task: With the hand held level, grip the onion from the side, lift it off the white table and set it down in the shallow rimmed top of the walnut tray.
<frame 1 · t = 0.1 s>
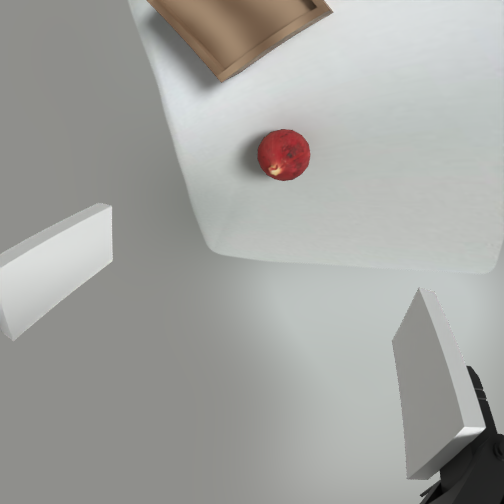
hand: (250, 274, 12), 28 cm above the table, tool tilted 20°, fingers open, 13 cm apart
onion: (290, 142, 37), on the table
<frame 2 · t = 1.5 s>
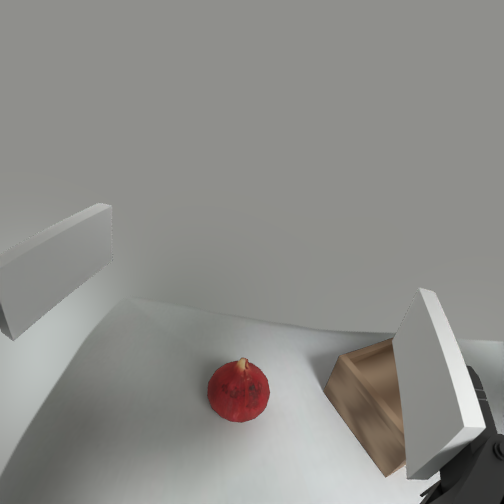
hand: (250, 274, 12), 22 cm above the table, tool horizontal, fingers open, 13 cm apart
walnut tray: (395, 411, 30), on the table
onion: (234, 413, 29), on the table
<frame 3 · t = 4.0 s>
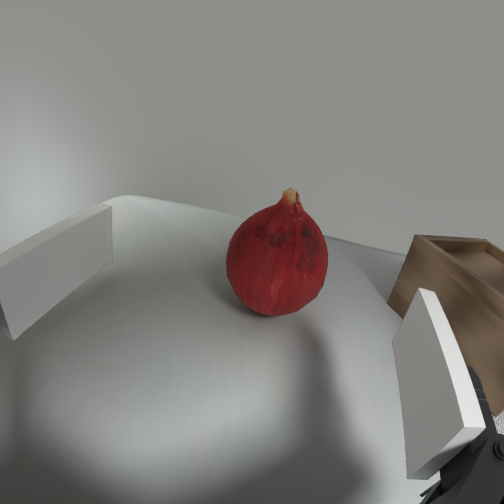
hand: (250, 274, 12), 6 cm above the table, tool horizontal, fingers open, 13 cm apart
walnut tray: (478, 337, 21), on the table
onion: (264, 315, 20), on the table
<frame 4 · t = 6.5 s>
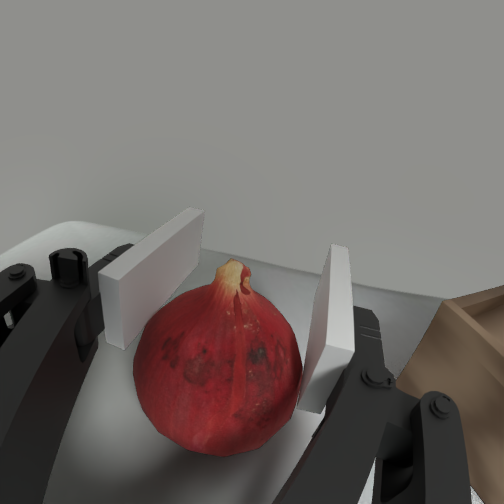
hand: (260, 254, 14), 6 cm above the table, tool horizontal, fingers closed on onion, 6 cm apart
onion: (207, 428, 12), on the table, touching gripper
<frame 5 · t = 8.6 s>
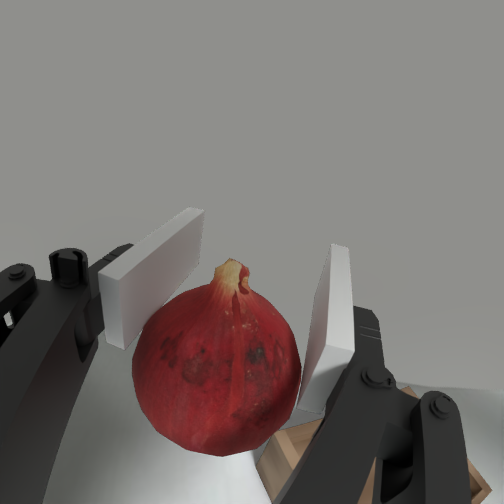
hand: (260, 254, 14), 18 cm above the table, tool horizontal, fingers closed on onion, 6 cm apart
walnut tray: (359, 503, 18), on the table
onion: (206, 428, 12), point 11 cm above the table, touching gripper
when the fingers open (13 cm above the table, at t = 10.8 s): onion drops 2 cm, resting on walnut tray.
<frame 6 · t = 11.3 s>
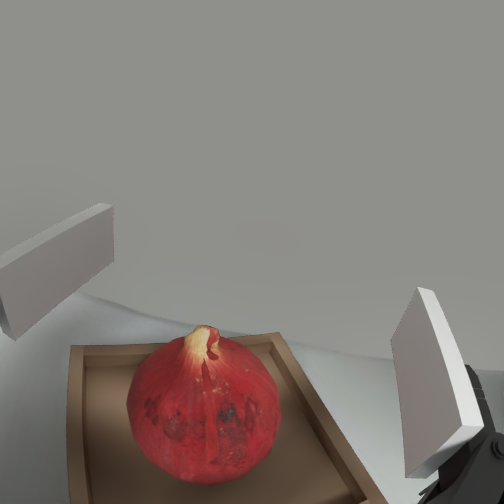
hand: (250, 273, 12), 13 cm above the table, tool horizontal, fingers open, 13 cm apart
walnut tray: (200, 479, 15), on the table
onion: (205, 447, 13), point 5 cm above the table, touching walnut tray
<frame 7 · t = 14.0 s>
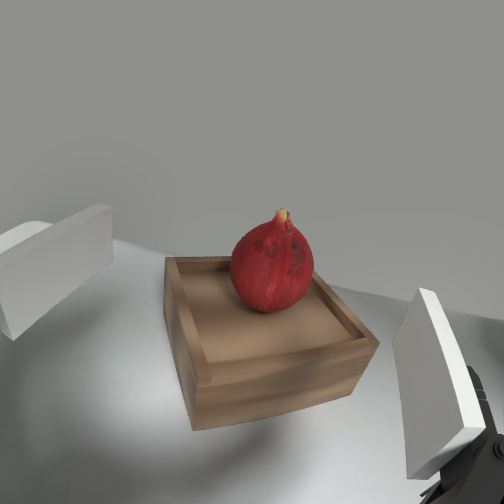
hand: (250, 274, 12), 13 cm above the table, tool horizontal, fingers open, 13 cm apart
walnut tray: (250, 354, 26), on the table
onion: (261, 312, 24), point 5 cm above the table, touching walnut tray
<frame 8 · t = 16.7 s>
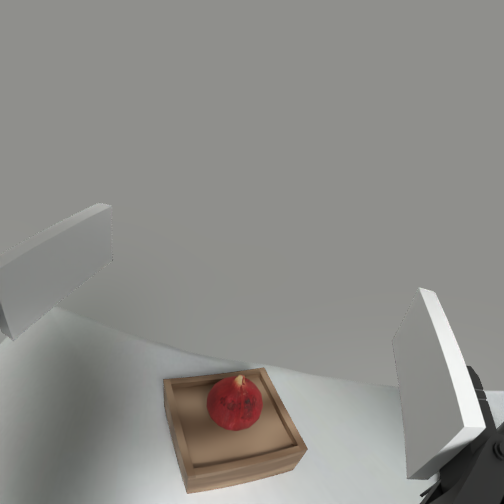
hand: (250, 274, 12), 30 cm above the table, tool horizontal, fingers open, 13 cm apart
walnut tray: (225, 440, 34), on the table
onion: (230, 422, 32), point 5 cm above the table, touching walnut tray
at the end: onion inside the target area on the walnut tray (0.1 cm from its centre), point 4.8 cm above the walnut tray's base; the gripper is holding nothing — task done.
